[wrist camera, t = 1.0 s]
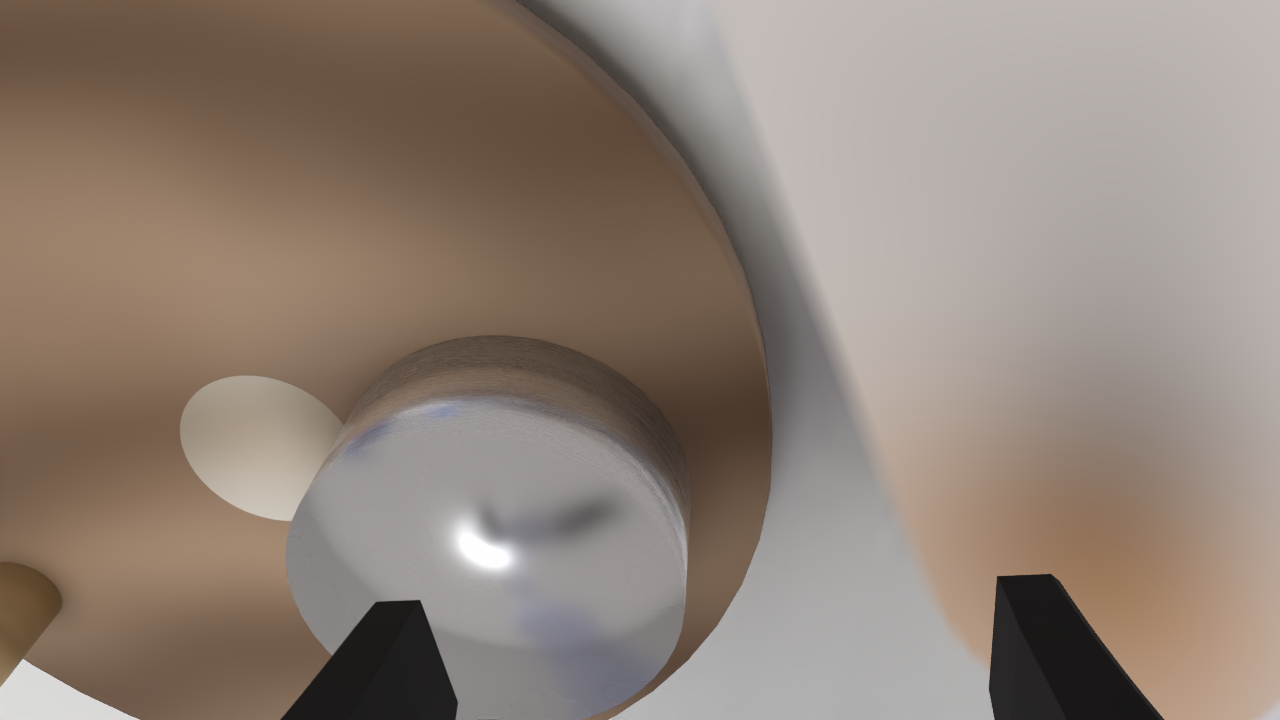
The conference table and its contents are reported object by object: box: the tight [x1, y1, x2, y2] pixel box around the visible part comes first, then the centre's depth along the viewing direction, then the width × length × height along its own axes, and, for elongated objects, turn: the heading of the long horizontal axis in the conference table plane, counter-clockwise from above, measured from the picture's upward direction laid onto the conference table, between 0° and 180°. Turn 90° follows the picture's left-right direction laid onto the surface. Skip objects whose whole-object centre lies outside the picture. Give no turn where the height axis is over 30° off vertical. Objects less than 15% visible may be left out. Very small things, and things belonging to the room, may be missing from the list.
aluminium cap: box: [285, 335, 691, 720], centre depth 19 cm, size 7×7×3 cm
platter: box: [0, 0, 772, 720], centre depth 19 cm, size 20×20×4 cm
